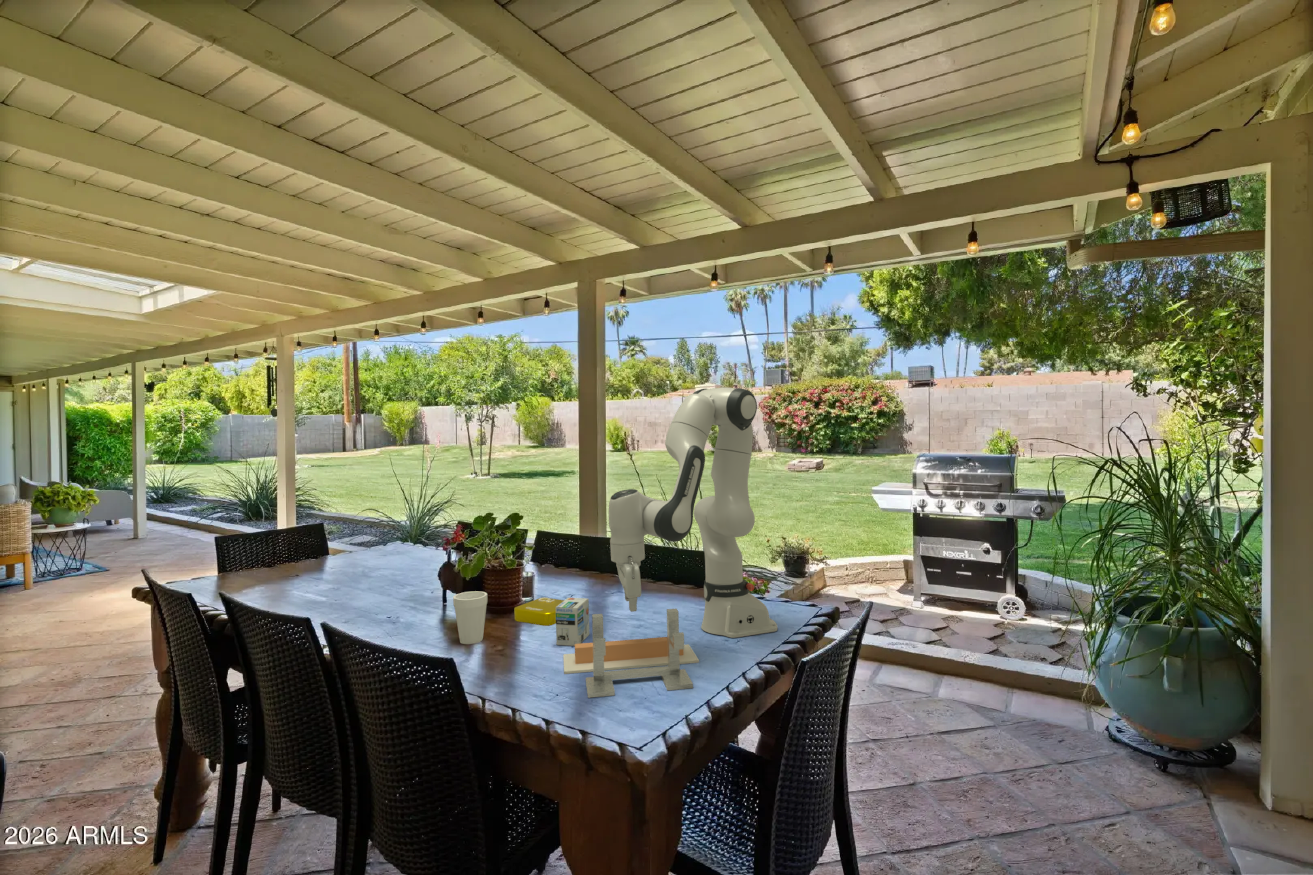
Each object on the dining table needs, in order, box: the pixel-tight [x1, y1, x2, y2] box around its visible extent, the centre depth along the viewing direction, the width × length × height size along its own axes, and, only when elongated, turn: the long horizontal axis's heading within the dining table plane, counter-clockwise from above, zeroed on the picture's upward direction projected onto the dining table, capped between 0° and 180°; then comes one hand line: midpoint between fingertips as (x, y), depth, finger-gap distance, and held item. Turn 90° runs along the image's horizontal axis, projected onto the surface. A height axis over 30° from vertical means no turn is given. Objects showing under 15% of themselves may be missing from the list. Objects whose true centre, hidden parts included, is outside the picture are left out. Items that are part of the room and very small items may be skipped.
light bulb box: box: [555, 597, 590, 647], centre depth 175 cm, size 11×7×11 cm, turn 168°
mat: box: [562, 644, 700, 675], centre depth 158 cm, size 34×12×1 cm, turn 100°
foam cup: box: [452, 590, 488, 645], centre depth 176 cm, size 10×9×13 cm
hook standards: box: [585, 608, 694, 699], centre depth 142 cm, size 24×9×16 cm, turn 100°
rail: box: [574, 636, 684, 664], centre depth 158 cm, size 28×3×4 cm, turn 100°
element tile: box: [513, 596, 565, 627], centre depth 197 cm, size 15×15×5 cm
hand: (630, 605), depth 159 cm, fingers open, 8 cm apart
